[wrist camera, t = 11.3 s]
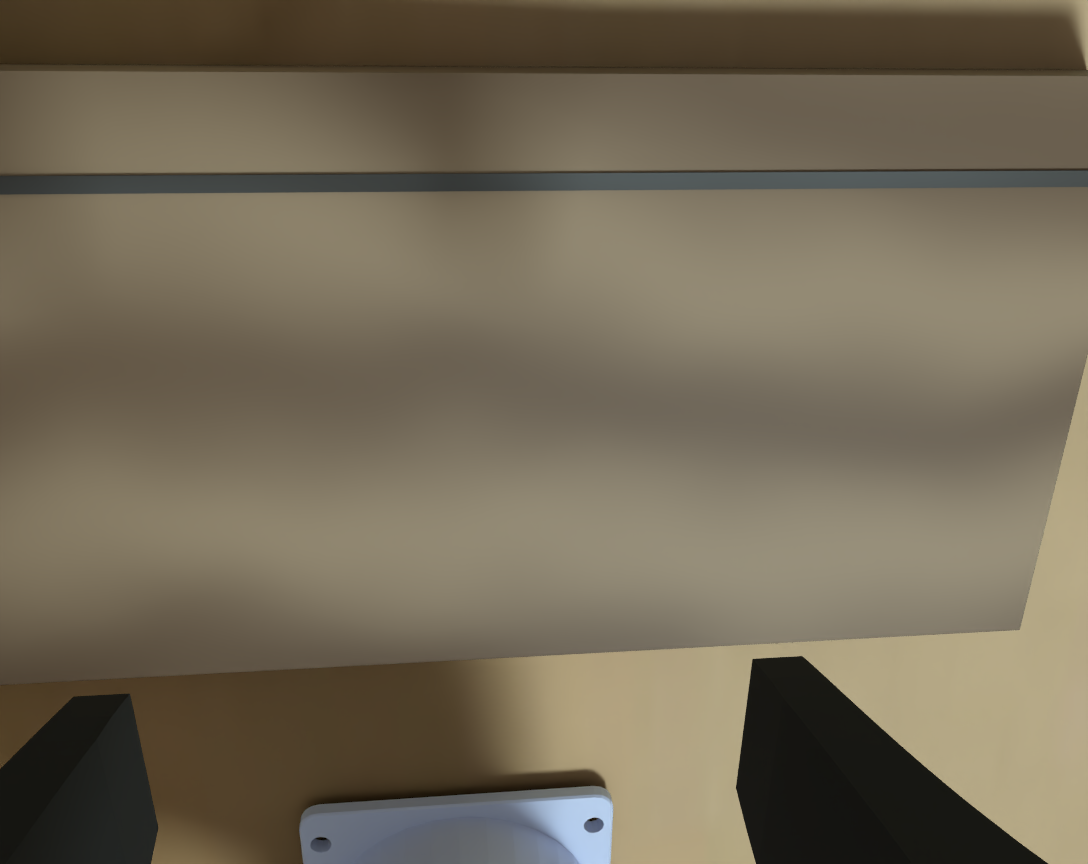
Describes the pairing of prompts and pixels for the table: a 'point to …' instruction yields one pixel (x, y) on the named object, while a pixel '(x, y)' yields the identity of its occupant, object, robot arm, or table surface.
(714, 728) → the table surface
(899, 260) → the board
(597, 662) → the table surface
